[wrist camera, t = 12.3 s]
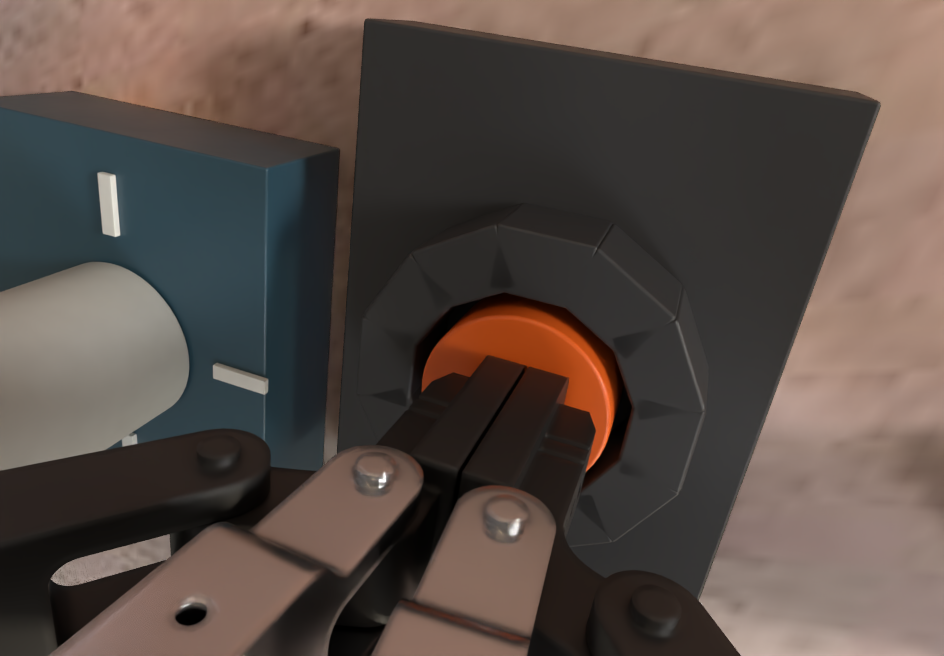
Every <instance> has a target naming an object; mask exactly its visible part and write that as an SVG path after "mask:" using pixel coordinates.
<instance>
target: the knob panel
mask: <svg viewBox="0 0 944 656" xmlns="http://www.w3.org/2000/svg"><path fill="white" fill-rule="evenodd" d="M338 169H339V149H338V148H336V147H331V146H326V145H322V144H317V143H312V142H308V141H303V140H298V139H294V138H289V137H284V136H280V135H275V134H270V133H266V132H261V131H256V130H252V129H247V128H242V127H238V126H233V125H228V124H224V123H219V122H214V121H210V120H205V119H200V118H196V117H191V116H186V115H182V114H177V113H172V112H168V111H163V110H158V109H154V108H149V107H144V106H140V105H135V104H130V103H126V102H121V101H116V100H112V99H107V98H103V97H98V96H93V95H89V94H84V93H79V92H75V91H66V92H54V93H41V94H28V95H15V96H2V97H0V292H2V291H5V290H8V289H11V288H14V287H17V286H20V285H23V284H26V283H28V282H31V281H34V280H37V279H40V278H43V277H46V276H49V275H52V274H54V273H57V272H60V271H63V270H66V269H69V268H72V267H75V266H78V265H81V264H83V263H88V262H105V263H111V264H115V265H118V266H121V267H123V268H125V269H128V270H130V271H131V272H133V273H135V274H136V275H138V276H140V277H141V278H142V279H144V280H145V281H146V282H147V283H149V284H150V285H151V286H152V287H153V288H154V289H155V290H156V291H157V292H158V293H159V294H160V295H161V297H162V298H163V299H164V300H165V302H166V303H167V304H168V306H169V307H170V308H171V310H172V312H173V313H174V315H175V317H176V318H177V320H178V323H179V325H180V327H181V329H182V332H183V334H184V337H185V340H186V344H187V348H188V354H189V376H188V380H187V384H186V387H185V389H184V392H183V394H182V395H181V397H180V398H179V400H178V401H177V402H176V403H175V404H174V405H173V406H171V407H170V408H169V409H167V410H166V411H164V412H163V413H161V414H159V415H158V416H156V417H155V418H153V419H152V420H150V421H149V422H147V423H146V424H144V425H143V426H141V427H140V428H138V429H137V430H135V431H134V432H132V433H130V434H129V435H127V436H126V437H124V438H123V439H121V440H120V441H118V442H117V443H115V444H114V445H112V446H111V447H109V448H108V449H113V448H118V447H123V446H128V445H133V444H138V443H143V442H149V441H154V440H159V439H164V438H169V437H174V436H179V435H184V434H189V433H194V432H199V431H204V430H211V429H222V428H227V429H238V430H243V431H247V432H250V433H252V434H255V435H257V436H258V437H260V438H261V439H263V440H264V441H265V442H266V444H267V445H268V446H269V449H270V453H271V467H280V468H290V469H299V470H311V471H318V470H319V469H320V468H321V467H322V466H323V448H324V430H325V411H326V392H327V374H328V355H329V336H330V318H331V299H332V281H333V262H334V243H335V225H336V206H337V187H338ZM108 449H106V450H108Z"/></svg>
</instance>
